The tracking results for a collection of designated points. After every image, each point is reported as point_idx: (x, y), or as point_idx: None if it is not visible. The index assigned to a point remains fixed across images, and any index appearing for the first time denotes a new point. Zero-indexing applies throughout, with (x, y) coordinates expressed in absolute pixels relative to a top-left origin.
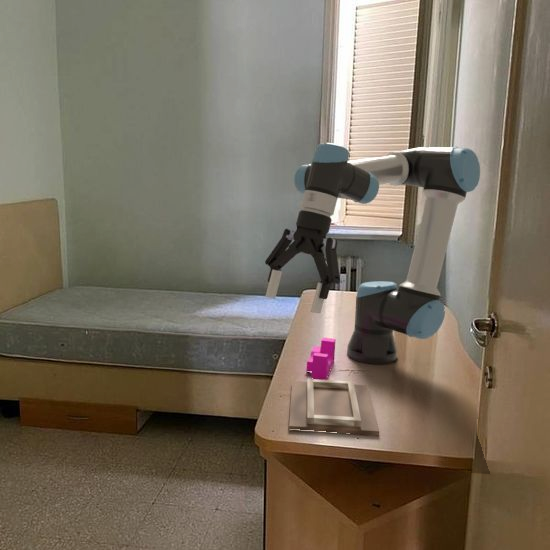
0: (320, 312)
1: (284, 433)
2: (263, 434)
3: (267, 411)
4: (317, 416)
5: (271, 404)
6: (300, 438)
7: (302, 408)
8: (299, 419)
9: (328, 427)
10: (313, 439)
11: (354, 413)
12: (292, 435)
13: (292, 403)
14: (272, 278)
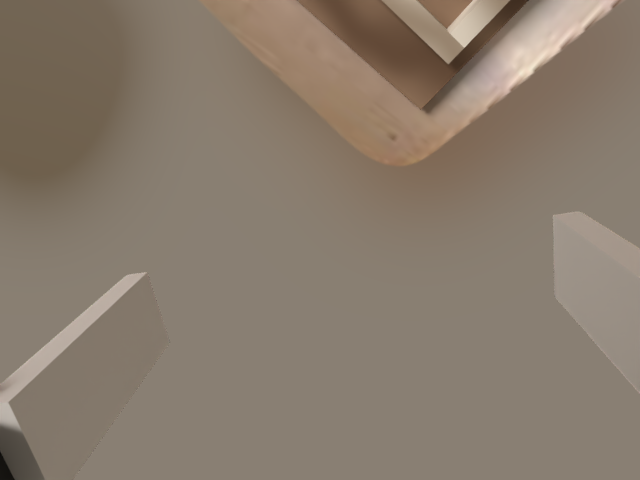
0: (583, 215)
1: (420, 121)
2: (391, 164)
3: (299, 88)
4: (465, 32)
5: (267, 52)
6: (466, 102)
7: (366, 5)
8: (412, 61)
9: (506, 17)
10: (494, 76)
11: None
12: (441, 110)
13: (319, 12)
14: (102, 436)
